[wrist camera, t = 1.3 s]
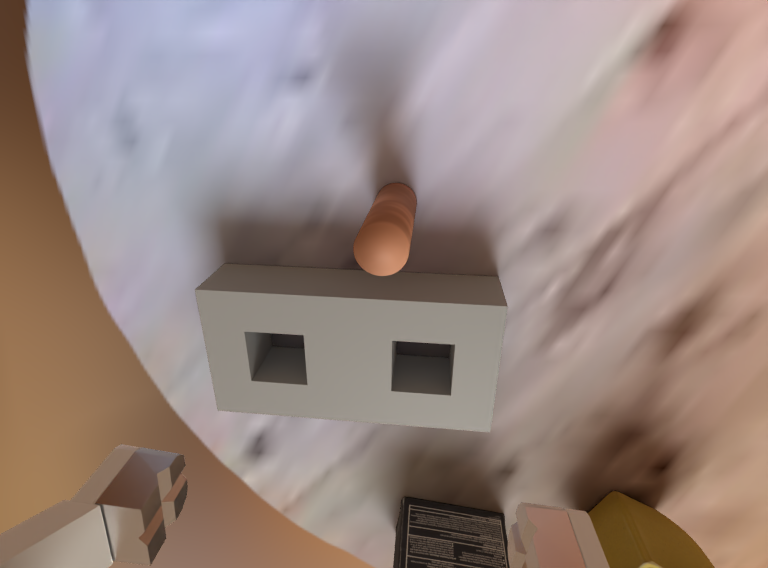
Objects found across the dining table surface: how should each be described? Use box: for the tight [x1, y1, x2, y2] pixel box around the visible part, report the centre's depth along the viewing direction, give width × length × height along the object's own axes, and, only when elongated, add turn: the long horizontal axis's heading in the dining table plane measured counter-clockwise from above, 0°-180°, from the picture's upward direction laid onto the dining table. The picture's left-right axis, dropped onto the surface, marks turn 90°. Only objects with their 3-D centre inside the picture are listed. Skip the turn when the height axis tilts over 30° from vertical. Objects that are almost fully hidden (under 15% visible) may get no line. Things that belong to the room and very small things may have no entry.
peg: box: [353, 183, 417, 276], centre depth 29 cm, size 3×3×10 cm
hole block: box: [195, 264, 508, 432], centre depth 36 cm, size 22×11×5 cm, turn 90°
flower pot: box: [587, 491, 715, 568], centre depth 40 cm, size 9×9×9 cm
